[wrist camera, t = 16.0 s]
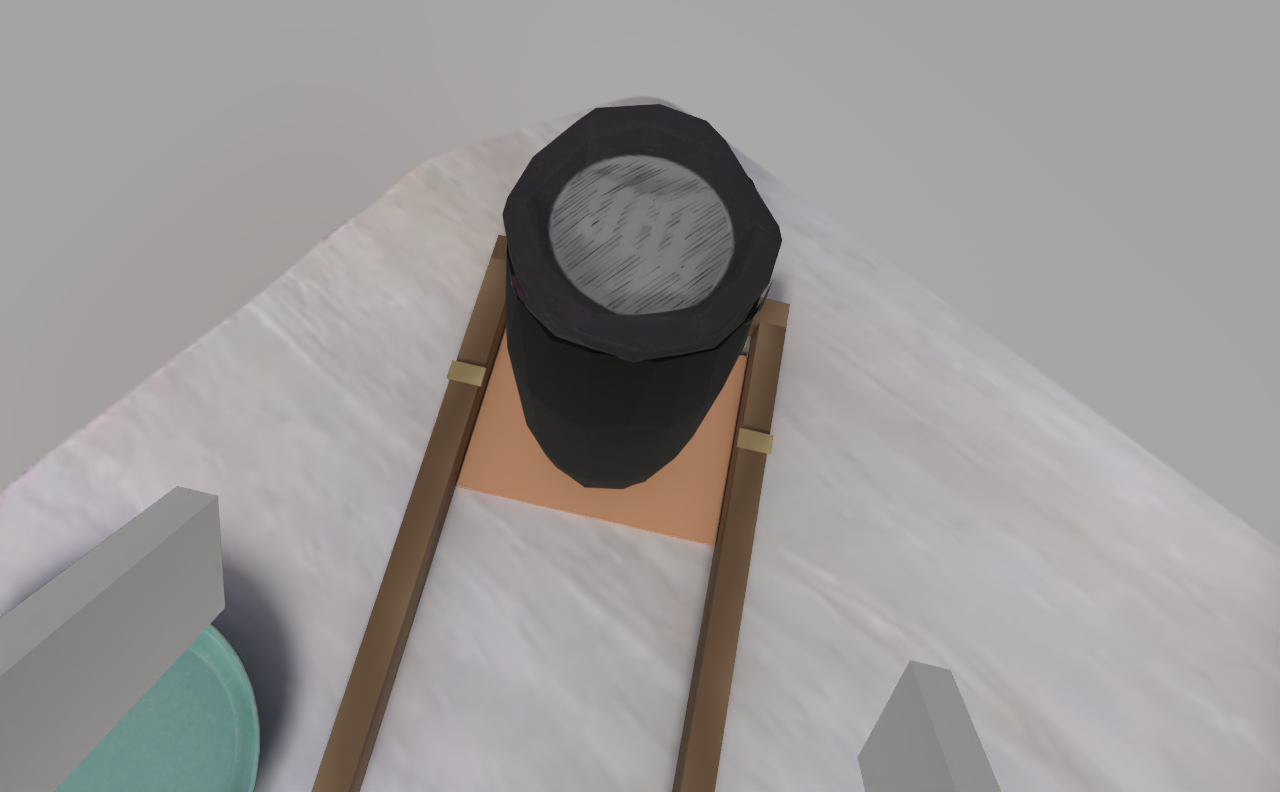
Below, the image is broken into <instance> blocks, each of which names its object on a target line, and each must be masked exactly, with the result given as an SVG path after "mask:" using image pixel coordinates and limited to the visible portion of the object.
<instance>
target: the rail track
mask: <svg viewBox="0 0 1280 792" xmlns="http://www.w3.org/2000/svg"><path fill="white" fill-rule="evenodd" d="M503 250H504V251H503ZM506 252H507V237H505V236H501V235H499V236H498V239H497V242H496V245H495V248H494V250H493V253H492V256H491V259H490V262H489V265H488V268H487V271H486V274H485V277H484V280H483V283H482V286H481V289H480V292H479V295H478V298H477V301H476V304H475V307H474V310H473V313H472V316H471V319H470V322H469V325H468V328H467V331H466V334H465V337H464V340H463V343H462V346H461V349H460V352H459V355H458V358H457V360H456V361H454V360H452V363H451V366H450V369H449V372H448V375H447V379H450V381H449V384H448V387H447V390H446V393H445V396H444V399H443V402H442V405H441V408H440V411H439V414H438V417H437V420H436V423H435V426H434V429H433V432H432V435H431V438H430V441H429V444H428V447H427V450H426V453H425V456H424V459H423V462H422V465H421V468H420V471H419V473H418V476H417V479H416V482H415V485H414V488H413V491H412V494H411V497H410V500H409V503H408V506H407V509H406V512H405V515H404V518H403V521H402V524H401V527H400V530H399V533H398V536H397V539H396V542H395V545H394V548H393V551H392V554H391V557H390V560H389V563H388V566H387V569H386V572H385V575H384V578H383V581H382V583H381V586H380V589H379V592H378V595H377V598H376V601H375V604H374V607H373V610H372V613H371V616H370V619H369V622H368V625H367V628H366V631H365V634H364V637H363V640H362V643H361V646H360V649H359V652H358V655H357V658H356V661H355V664H354V667H353V670H352V673H351V676H350V679H349V682H348V685H347V688H346V691H345V694H344V696H343V699H342V702H341V705H340V708H339V711H338V714H337V717H336V720H335V723H334V726H333V729H332V732H331V735H330V738H329V741H328V744H327V747H326V750H325V753H324V756H323V759H322V762H321V765H320V768H319V771H318V774H317V777H316V780H315V783H314V786H313V789H312V792H359V791H360V788H361V785H362V782H363V779H364V775H365V772H366V769H367V766H368V763H369V760H370V756H371V753H372V750H373V747H374V744H375V740H376V737H377V734H378V731H379V728H380V725H381V721H382V718H383V715H384V712H385V709H386V706H387V702H388V699H389V696H390V693H391V690H392V686H393V683H394V680H395V677H396V674H397V671H398V667H399V664H400V661H401V658H402V655H403V651H404V648H405V645H406V642H407V639H408V636H409V632H410V629H411V626H412V623H413V620H414V617H415V613H416V610H417V607H418V604H419V601H420V597H421V594H422V591H423V588H424V585H425V582H426V578H427V575H428V572H429V569H430V566H431V563H432V559H433V556H434V553H435V550H436V547H437V543H438V540H439V537H440V534H441V531H442V528H443V524H444V521H445V518H446V515H447V512H448V509H449V505H450V502H451V499H452V496H453V493H454V489H455V486H456V483H457V480H458V477H459V474H460V470H461V467H462V464H463V461H464V458H465V454H466V451H467V448H468V445H469V442H470V439H471V435H472V432H473V429H474V426H475V423H476V420H477V416H478V413H479V410H480V407H481V404H482V400H483V397H484V394H485V391H486V388H487V385H488V381H489V378H490V375H491V372H492V369H493V366H494V362H495V359H496V356H497V353H498V350H499V346H500V343H501V340H502V337H503V334H504V331H505V327H506V322H505V290H506ZM504 255H505V257H504ZM763 299H764V298H761V297H760V299H759V302H758V305H757V307H758V306H759V304H760V303H761V302H762V300H763ZM789 306H790V304H786V303H782V302H778V301H773V300H769V299H765V302H764V304H763V307H762V309H761V310H760V311H759V312H758V313H757V314H756V315H755V316H754V318H753V321H752V324H751V327H750V330H749V333H748V335H749V336H751V342H750V348H749V353H748V359H747V365H746V371H745V376H744V382H743V388H742V394H741V399H740V405H739V411H738V417H737V422H736V428H735V434H734V440H733V445H732V451H731V457H730V463H729V469H728V474H727V480H726V486H725V492H724V497H723V503H722V509H721V515H720V520H719V526H718V532H717V538H716V543H715V549H714V555H713V561H712V566H711V572H710V578H709V584H708V589H707V595H706V601H705V607H704V613H703V618H702V624H701V630H700V636H699V641H698V647H697V653H696V659H695V664H694V670H693V676H692V682H691V687H690V693H689V699H688V705H687V710H686V716H685V722H684V728H683V733H682V739H681V745H680V751H679V757H678V762H677V768H676V774H675V780H674V785H673V791H672V792H714V791H715V785H716V779H717V772H718V766H719V759H720V753H721V746H722V740H723V733H724V727H725V720H726V714H727V707H728V701H729V694H730V688H731V682H732V675H733V669H734V662H735V656H736V649H737V643H738V636H739V630H740V623H741V617H742V610H743V604H744V597H745V591H746V585H747V578H748V572H749V565H750V559H751V552H752V546H753V539H754V533H755V526H756V520H757V513H758V507H759V500H760V494H761V488H762V481H763V475H764V468H765V462H766V455H767V454H771V447H772V441H773V435H770V429H771V423H772V416H773V410H774V403H775V397H776V391H777V384H778V378H779V371H780V365H781V358H782V352H783V345H784V339H785V332H786V326H787V319H788V313H789ZM756 309H757V308H756Z"/></svg>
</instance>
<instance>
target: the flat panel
mask: <svg viewBox="0 0 1280 792" xmlns="http://www.w3.org/2000/svg"><path fill="white" fill-rule="evenodd" d="M746 360H747V356H743V355H739V357H738V359H737V361H736V363H735V365H734V367H733V369H732V371H731V373H730V375H729V377H728V379H727V381H726V383H725V385H724V387H723V389H722V390H721V392H720V394H719V395H718V397H717V399H716V400H715V402H714V403H713V405H712V407H711V408H710V410H709V412H708V413H707V415H706V416H705V418H704V420H703V421H702V423H701V424H700V426H699V428H698V429H697V431H696V433H695V434H694V436H693V437H692V439H691V440H690V441H689V442H688V443H687V445H686V446H685V447H684V448H683V449H682V451H681V452H680V453H679V454H678V455H677V457H676V458H675V459H673V460H672V461H671V462H670V463H668V464H667V465H666V466H664V467H663V468H662V469H661V470H659V471H658V472H657V473H655V474H654V475H653V476H652V477H650V478H649V479H648V480H646V481H645V482H643V483H639V484H635V485H632V486H630V487H628V488H625V489H606V488H585V487H583V486H582V485H581V484H579V483H578V482H576V481H575V480H574V479H572V478H571V477H569V476H568V475H567V474H565V473H564V472H562V471H561V470H559V469H558V468H556V467H555V465H554V464H553V463H552V462H551V461H550V460H549V458H548V457H547V456H546V455H545V453H544V452H543V450H542V448H541V447H540V445H539V444H538V442H537V441H536V439H535V437H534V436H533V434H532V433H531V431H530V429H529V428H528V426H527V425H526V421H525V417H524V413H523V409H522V405H521V401H520V397H519V393H518V389H517V385H516V381H515V377H514V373H513V369H512V365H511V361H510V357H509V353H508V349H507V337H506V329H505V333H504V336H503V339H502V342H501V345H500V349H499V352H498V355H497V358H496V361H495V364H494V368H493V371H492V374H491V377H490V380H489V384H488V387H487V390H486V393H485V396H484V399H483V403H482V406H481V409H480V412H479V415H478V419H477V422H476V425H475V428H474V431H473V434H472V438H471V441H470V444H469V447H468V450H467V454H466V457H465V460H464V463H463V466H462V469H461V473H460V476H459V479H458V482H457V486H458V487H462V488H466V489H471V490H475V491H479V492H484V493H488V494H492V495H496V496H501V497H505V498H509V499H514V500H518V501H522V502H527V503H531V504H535V505H540V506H544V507H548V508H552V509H557V510H561V511H565V512H570V513H574V514H578V515H583V516H587V517H591V518H596V519H600V520H604V521H608V522H613V523H617V524H621V525H626V526H630V527H634V528H639V529H643V530H647V531H652V532H656V533H660V534H665V535H669V536H673V537H677V538H682V539H686V540H690V541H695V542H699V543H703V544H708V545H712V546H714V544H715V538H716V532H717V527H718V521H719V515H720V509H721V504H722V498H723V492H724V486H725V481H726V475H727V469H728V463H729V458H730V452H731V446H732V441H733V435H734V429H735V423H736V418H737V412H738V406H739V400H740V395H741V389H742V383H743V377H744V372H745V366H746Z"/></svg>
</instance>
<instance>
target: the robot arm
mask: <svg viewBox="0 0 1280 792" xmlns="http://www.w3.org/2000/svg"><path fill="white" fill-rule="evenodd" d="M224 609H225V598H224V582H223V567H222V551H221V536H220V520H219V505H218V496H216V495H212V494H208V493H204V492H199V491H195V490H191V489H187V488H183V487H178V486H177V487H176V488H174V489H173V490H171V491H170V492H169V493H167V494H166V495H165V496H163V497H162V498H161V499H159V500H158V501H157V502H155V503H154V504H153V505H151V506H150V507H149V508H147V509H146V510H145V511H143V512H142V513H141V514H139V515H138V516H137V517H135V518H134V519H133V520H131V521H130V522H129V523H127V524H126V525H125V526H123V527H122V528H121V529H119V530H118V531H117V532H115V533H114V534H113V535H111V536H110V537H108V538H107V539H106V540H104V541H103V542H102V543H100V544H99V545H98V546H96V547H95V548H94V549H92V550H91V551H90V552H88V553H87V554H86V555H84V556H83V557H82V558H80V559H79V560H78V561H76V562H75V563H74V564H72V565H71V566H70V567H68V568H67V569H66V570H64V571H63V572H62V573H60V574H59V575H58V576H56V577H55V578H54V579H52V580H51V581H50V582H48V583H47V584H46V585H44V586H43V587H41V588H40V589H39V590H37V591H36V592H35V593H33V594H32V595H31V596H29V597H28V598H27V599H25V600H24V601H23V602H21V603H20V604H19V605H17V606H16V607H15V608H13V609H12V610H11V611H9V612H8V613H7V614H5V615H4V616H3V617H1V618H0V792H54V791H55V790H56V789H57V788H58V786H59V785H60V784H61V783H62V782H63V781H64V780H65V779H66V778H67V777H68V776H69V775H70V774H71V773H72V771H73V770H74V769H75V768H76V767H77V766H78V765H79V764H80V763H81V762H82V761H83V760H84V759H85V758H86V756H87V755H88V754H89V753H90V752H91V751H92V750H93V749H94V748H95V747H96V746H97V745H98V744H99V743H100V741H101V740H102V739H103V738H104V737H105V736H106V735H107V734H108V733H109V732H110V731H111V730H112V729H113V728H114V726H115V725H116V724H117V723H118V722H119V721H120V720H121V719H122V718H123V717H124V716H125V715H126V714H127V713H128V711H129V710H130V709H131V708H132V707H133V706H134V705H135V704H136V703H137V702H138V701H139V700H140V699H141V698H142V696H143V695H144V694H145V693H146V692H147V691H148V690H149V689H150V688H151V687H152V686H153V685H154V684H155V683H156V681H157V680H158V679H159V678H160V677H161V676H162V675H163V674H164V673H165V672H166V671H167V670H168V669H169V668H170V666H171V665H172V664H173V663H174V662H175V661H176V660H177V659H178V658H179V657H180V656H181V655H182V654H183V652H184V651H185V650H186V649H187V648H188V647H189V646H190V645H191V644H192V643H193V642H194V641H195V640H196V639H197V637H198V636H199V635H200V634H201V633H202V632H203V631H204V630H205V629H206V628H207V627H208V626H209V625H210V624H211V622H212V621H213V620H214V619H215V618H216V617H217V616H218V615H219V614H220V613H221V612H222V611H223V610H224ZM858 760H859V765H860V769H861V774H862V778H863V783H864V787H865V792H1001V790H1000V788H999V785H998V783H997V781H996V778H995V776H994V773H993V771H992V769H991V766H990V764H989V761H988V759H987V757H986V754H985V752H984V749H983V747H982V745H981V742H980V740H979V737H978V735H977V733H976V730H975V728H974V725H973V723H972V721H971V718H970V716H969V713H968V711H967V709H966V706H965V704H964V702H963V699H962V697H961V694H960V692H959V690H958V687H957V685H956V682H955V680H954V678H953V675H952V673H951V670H948V669H944V668H940V667H936V666H932V665H927V664H923V663H919V662H915V661H911V660H910V662H909V664H908V666H907V667H906V669H905V671H904V673H903V675H902V677H901V678H900V680H899V682H898V684H897V686H896V688H895V690H894V691H893V693H892V695H891V697H890V699H889V701H888V703H887V704H886V706H885V708H884V710H883V712H882V714H881V715H880V717H879V719H878V721H877V723H876V725H875V727H874V728H873V730H872V732H871V734H870V736H869V738H868V740H867V741H866V743H865V745H864V747H863V749H862V751H861V752H860V754H859V756H858Z"/></svg>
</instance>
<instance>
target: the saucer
mask: <svg viewBox="0 0 1280 792" xmlns="http://www.w3.org/2000/svg"><path fill="white" fill-rule="evenodd" d="M259 756H260V723H259V715H258V709H257V703H256V699H255V694H254V690H253V687H252V684H251V681H250V679H249V676H248V674H247V672H246V670H245V667H244V665H243V663H242V661H241V659H240V658H239V656H238V654H237V653H236V651H235V649H234V648H233V647H232V645H231V644H230V643H229V641H228V640H227V639H226V638H225V636H224V635H223V634H222V633H221V632H220V631H219V630H218V629H217V628H216V627H214V626H213V625H212V624H210V625H209V626H208V627H207V628H206V629H205V630H204V631H203V632H202V633H201V634H200V635H199V636H198V637H197V639H196V640H195V641H194V642H193V643H192V644H191V645H190V646H189V647H188V648H187V649H186V650H185V651H184V652H183V654H182V655H181V656H180V657H179V658H178V659H177V660H176V661H175V662H174V663H173V664H172V665H171V666H170V668H169V669H168V670H167V671H166V672H165V673H164V674H163V675H162V676H161V677H160V678H159V679H158V680H157V681H156V683H155V684H154V685H153V686H152V687H151V688H150V689H149V690H148V691H147V692H146V693H145V694H144V695H143V696H142V698H141V699H140V700H139V701H138V702H137V703H136V704H135V705H134V706H133V707H132V708H131V709H130V710H129V711H128V713H127V714H126V715H125V716H124V717H123V718H122V719H121V720H120V721H119V722H118V723H117V724H116V725H115V726H114V728H113V729H112V730H111V731H110V732H109V733H108V734H107V735H106V736H105V737H104V738H103V739H102V740H101V741H100V743H99V744H98V745H97V746H96V747H95V748H94V749H93V750H92V751H91V752H90V753H89V754H88V755H87V756H86V758H85V759H84V760H83V761H82V762H81V763H80V764H79V765H78V766H77V767H76V768H75V769H74V770H73V771H72V773H71V774H70V775H69V776H68V777H67V778H66V779H65V780H64V781H63V782H62V783H61V784H60V785H59V786H58V788H57V789H56V790H55V791H54V792H254V788H255V783H256V779H257V773H258V765H259Z"/></svg>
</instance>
